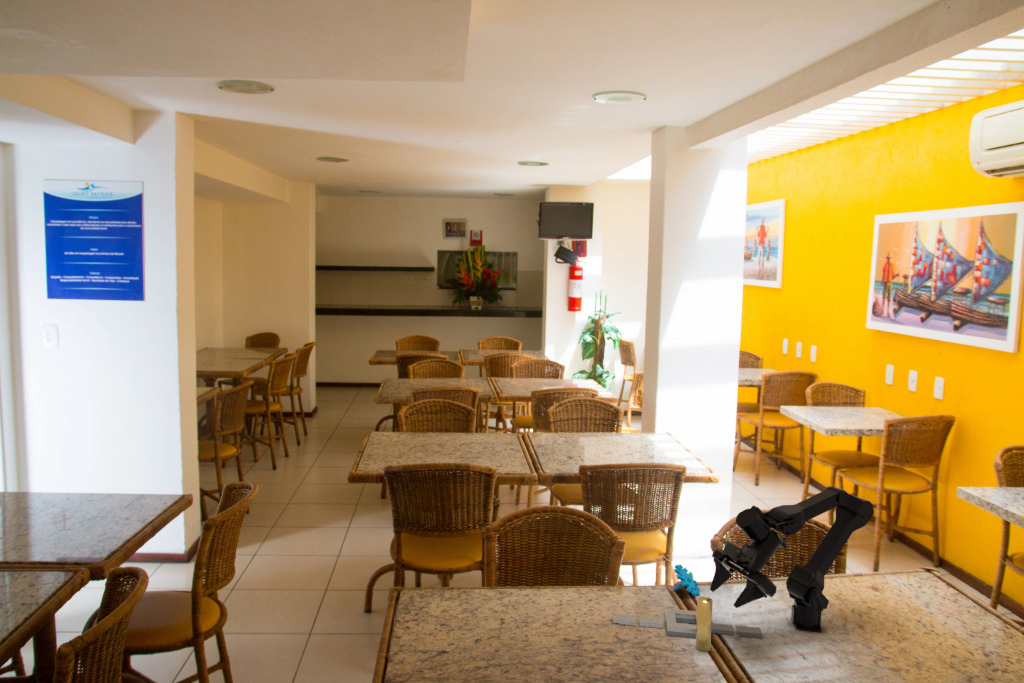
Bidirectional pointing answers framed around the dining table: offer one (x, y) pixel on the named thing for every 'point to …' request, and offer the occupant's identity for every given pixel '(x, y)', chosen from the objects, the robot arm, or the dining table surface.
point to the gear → (686, 580)
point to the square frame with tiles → (685, 629)
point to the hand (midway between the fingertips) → (722, 598)
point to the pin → (703, 624)
